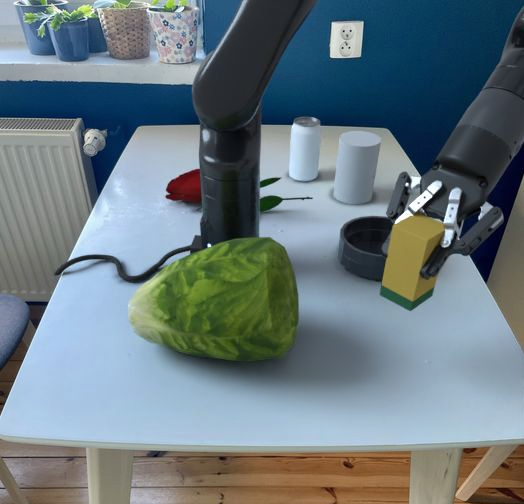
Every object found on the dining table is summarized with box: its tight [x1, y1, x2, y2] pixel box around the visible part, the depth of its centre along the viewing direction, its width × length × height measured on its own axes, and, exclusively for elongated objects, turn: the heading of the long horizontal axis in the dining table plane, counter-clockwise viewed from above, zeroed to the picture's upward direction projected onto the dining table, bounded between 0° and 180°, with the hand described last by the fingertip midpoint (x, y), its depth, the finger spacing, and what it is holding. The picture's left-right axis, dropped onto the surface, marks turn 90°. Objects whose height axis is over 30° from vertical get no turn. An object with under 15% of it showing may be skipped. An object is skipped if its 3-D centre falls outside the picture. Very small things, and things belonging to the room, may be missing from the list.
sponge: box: [379, 214, 445, 312], centre depth 66 cm, size 5×5×10 cm
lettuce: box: [127, 236, 300, 362], centre depth 73 cm, size 17×23×16 cm
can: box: [288, 116, 322, 183], centre depth 117 cm, size 6×6×12 cm
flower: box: [164, 168, 314, 213], centre depth 106 cm, size 9×10×30 cm
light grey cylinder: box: [333, 130, 382, 205], centre depth 110 cm, size 8×8×12 cm
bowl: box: [337, 215, 394, 282], centre depth 94 cm, size 14×14×5 cm
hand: (404, 267), depth 65 cm, fingers closed on sponge, 4 cm apart
